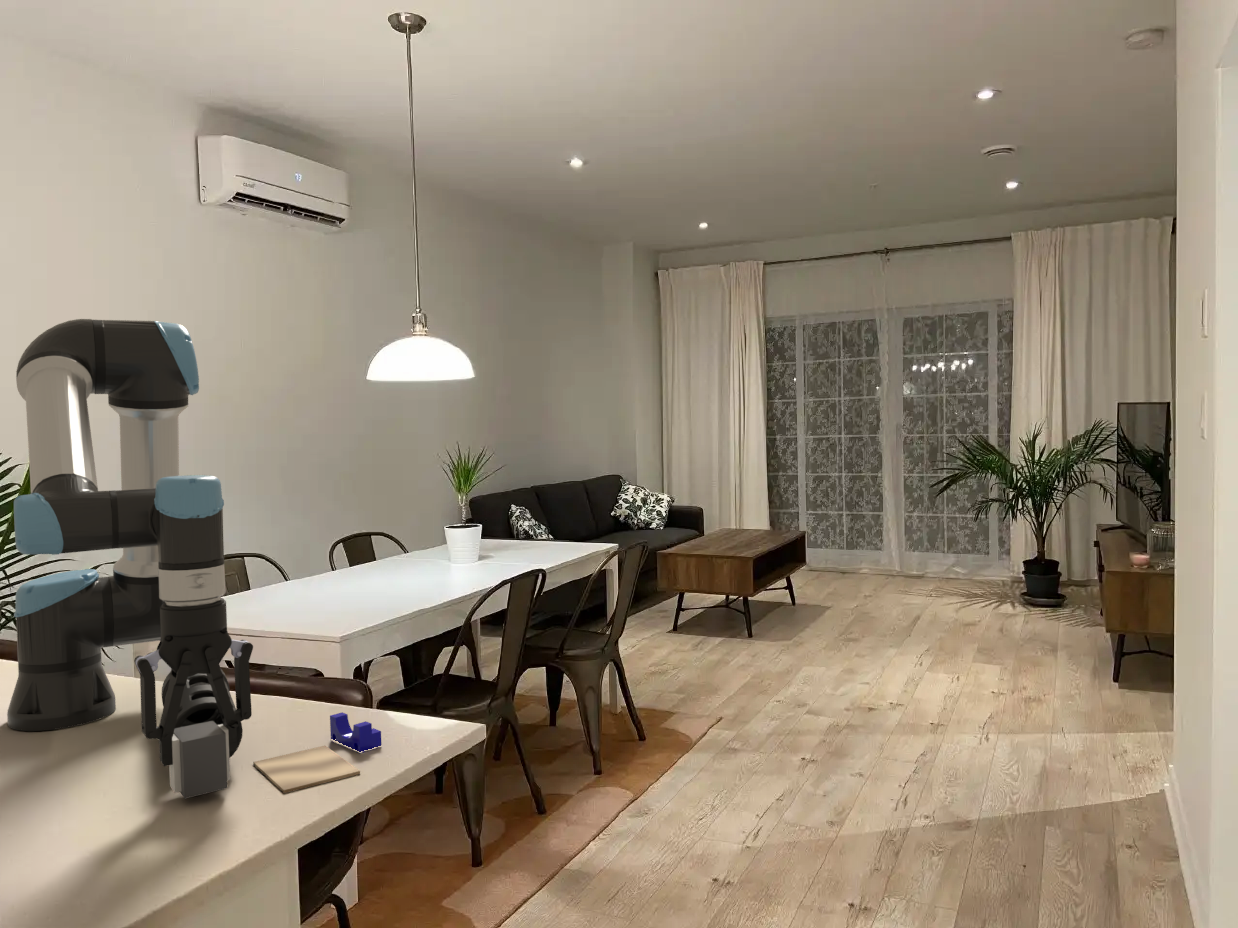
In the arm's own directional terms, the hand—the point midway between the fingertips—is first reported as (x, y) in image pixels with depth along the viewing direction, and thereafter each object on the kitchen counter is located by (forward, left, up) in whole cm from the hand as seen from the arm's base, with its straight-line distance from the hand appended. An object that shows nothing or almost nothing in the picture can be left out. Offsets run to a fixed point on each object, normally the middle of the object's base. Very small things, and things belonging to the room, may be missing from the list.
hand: (200, 782), depth 116 cm
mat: (-1, +13, -2) cm, 14 cm away
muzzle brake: (-21, +5, -2) cm, 21 cm away
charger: (0, 0, 0) cm, 0 cm away
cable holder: (-6, +23, -2) cm, 23 cm away
